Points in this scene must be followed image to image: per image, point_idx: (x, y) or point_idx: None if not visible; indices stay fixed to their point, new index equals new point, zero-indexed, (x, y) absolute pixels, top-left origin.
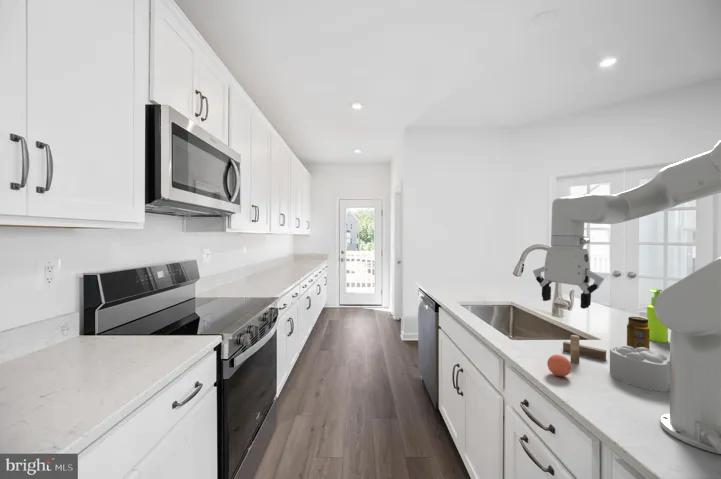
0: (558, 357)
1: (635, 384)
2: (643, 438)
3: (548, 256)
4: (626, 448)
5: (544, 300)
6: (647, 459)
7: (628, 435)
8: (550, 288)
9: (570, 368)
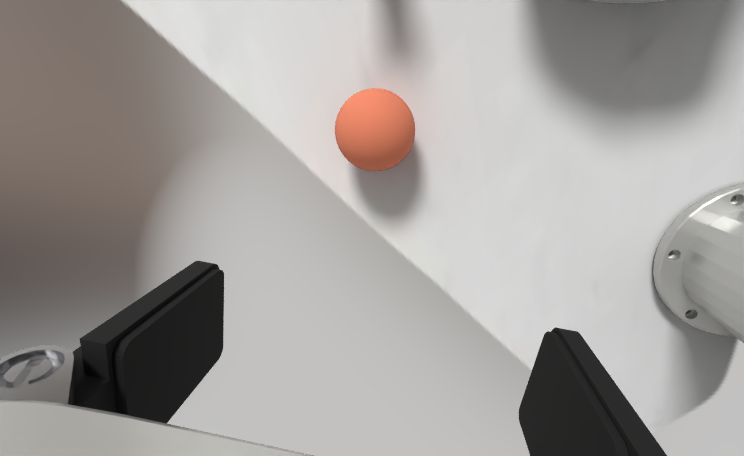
0: (371, 150)
1: (608, 1)
2: (610, 355)
3: None
4: None
5: (214, 356)
6: None
7: None
8: (137, 346)
9: (414, 135)
